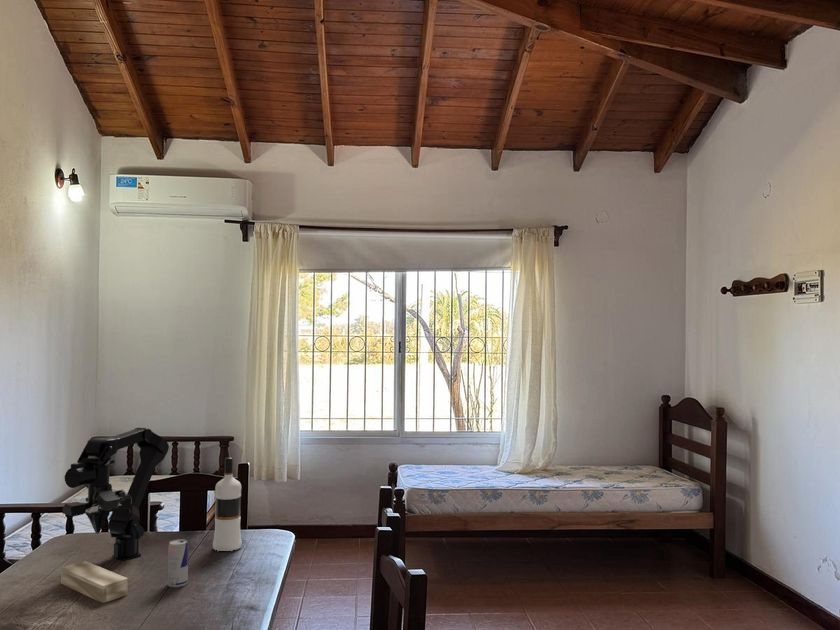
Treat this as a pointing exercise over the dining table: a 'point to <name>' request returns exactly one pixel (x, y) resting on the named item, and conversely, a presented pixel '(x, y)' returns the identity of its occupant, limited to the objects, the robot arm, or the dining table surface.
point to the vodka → (227, 511)
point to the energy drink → (177, 563)
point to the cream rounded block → (94, 581)
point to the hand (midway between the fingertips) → (97, 532)
